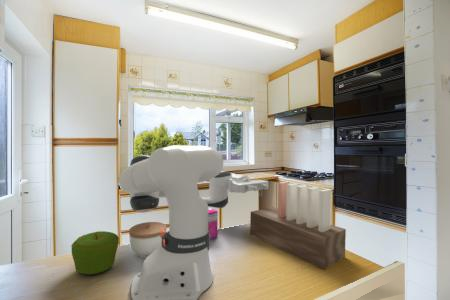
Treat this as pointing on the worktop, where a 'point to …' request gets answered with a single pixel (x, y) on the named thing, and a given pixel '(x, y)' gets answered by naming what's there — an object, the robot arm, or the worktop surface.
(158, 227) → the lidded bowl
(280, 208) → the domino
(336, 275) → the worktop surface
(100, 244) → the apple
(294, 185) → the domino
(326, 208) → the domino
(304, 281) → the worktop surface
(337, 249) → the domino stand
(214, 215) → the supplement box
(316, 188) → the domino
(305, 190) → the domino
